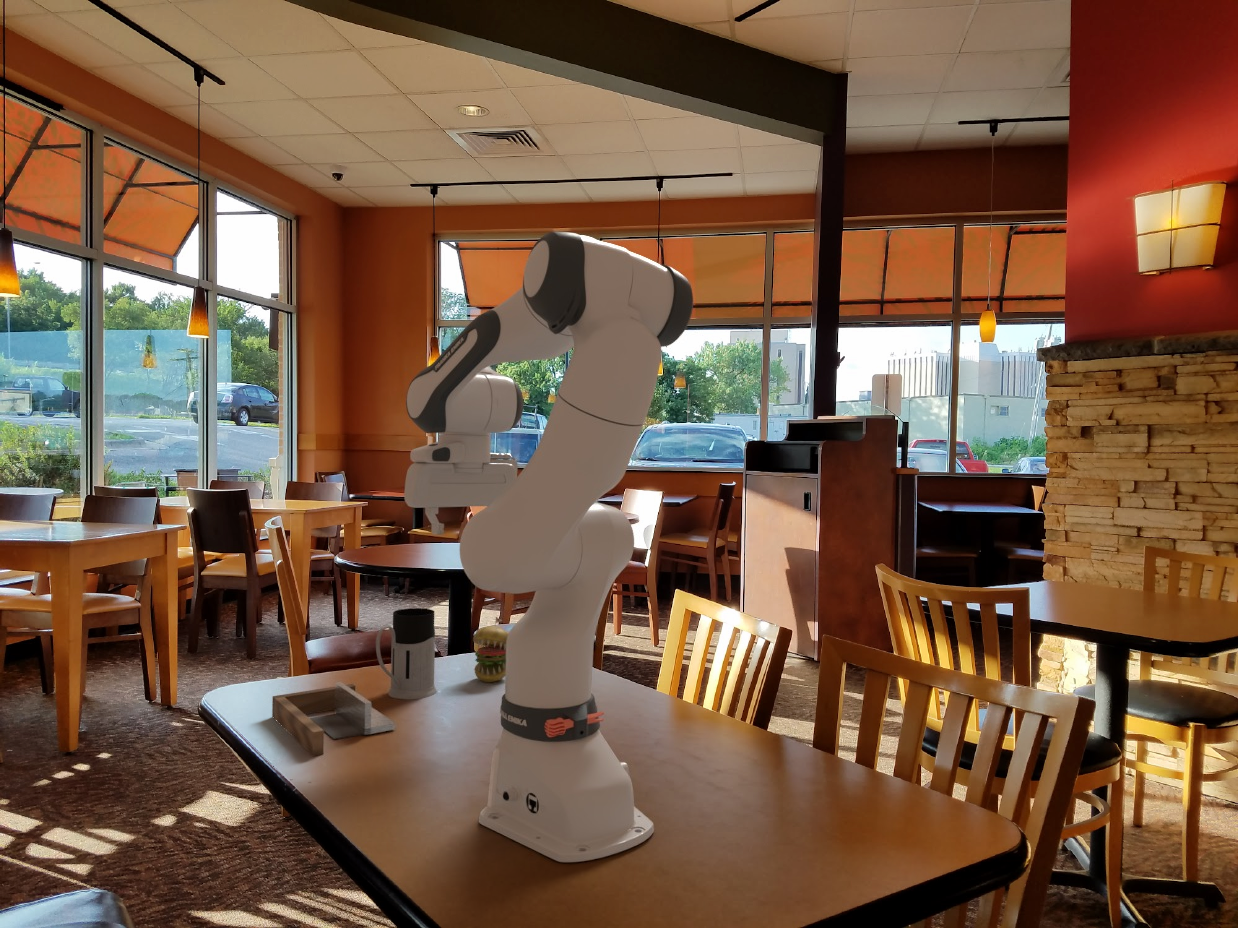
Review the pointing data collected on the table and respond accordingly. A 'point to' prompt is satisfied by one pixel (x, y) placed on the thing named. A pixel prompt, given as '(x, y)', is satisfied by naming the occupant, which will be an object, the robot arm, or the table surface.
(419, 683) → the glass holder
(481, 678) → the hamburger
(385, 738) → the table surface
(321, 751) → the brown wooden l-shaped piece
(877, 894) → the table surface
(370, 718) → the angle bracket
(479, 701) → the table surface
